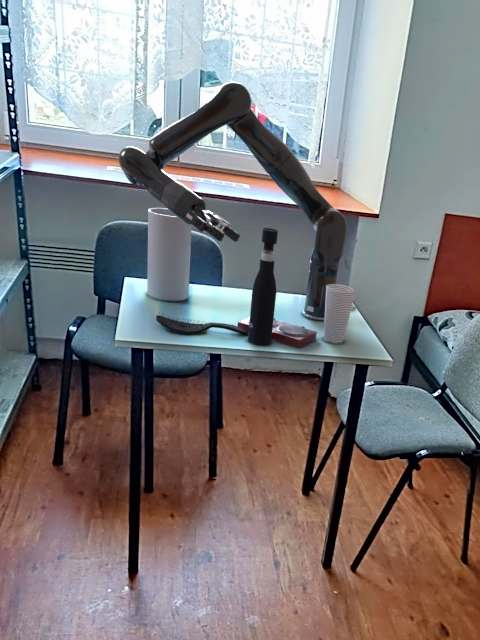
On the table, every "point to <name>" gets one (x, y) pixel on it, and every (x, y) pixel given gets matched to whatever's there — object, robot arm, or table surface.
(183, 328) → the hairbrush
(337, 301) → the cup
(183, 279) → the cylinder vase
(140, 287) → the table surface
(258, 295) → the water bottle
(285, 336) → the hot plate
